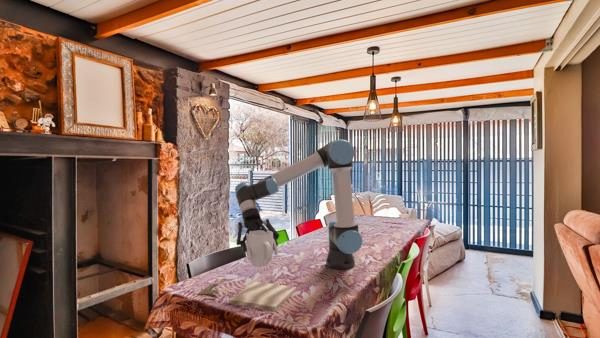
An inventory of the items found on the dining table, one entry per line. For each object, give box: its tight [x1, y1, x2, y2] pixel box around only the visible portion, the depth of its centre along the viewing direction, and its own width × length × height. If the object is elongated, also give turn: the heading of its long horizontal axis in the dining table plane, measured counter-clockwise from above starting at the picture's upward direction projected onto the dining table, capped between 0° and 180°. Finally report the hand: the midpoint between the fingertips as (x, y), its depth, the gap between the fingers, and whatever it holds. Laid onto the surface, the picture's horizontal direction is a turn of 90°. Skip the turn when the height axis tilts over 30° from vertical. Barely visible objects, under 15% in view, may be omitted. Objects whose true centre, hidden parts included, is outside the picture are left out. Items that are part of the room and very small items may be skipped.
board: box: [228, 281, 297, 312], centre depth 131 cm, size 20×20×2 cm
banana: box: [198, 277, 226, 297], centre depth 143 cm, size 9×20×2 cm, turn 5°
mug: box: [245, 230, 274, 268], centre depth 132 cm, size 15×11×13 cm
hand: (263, 256), depth 130 cm, fingers closed on mug, 11 cm apart
